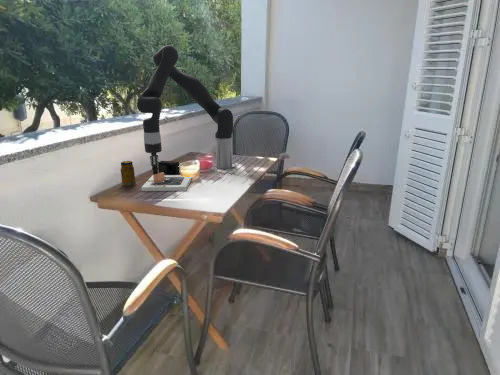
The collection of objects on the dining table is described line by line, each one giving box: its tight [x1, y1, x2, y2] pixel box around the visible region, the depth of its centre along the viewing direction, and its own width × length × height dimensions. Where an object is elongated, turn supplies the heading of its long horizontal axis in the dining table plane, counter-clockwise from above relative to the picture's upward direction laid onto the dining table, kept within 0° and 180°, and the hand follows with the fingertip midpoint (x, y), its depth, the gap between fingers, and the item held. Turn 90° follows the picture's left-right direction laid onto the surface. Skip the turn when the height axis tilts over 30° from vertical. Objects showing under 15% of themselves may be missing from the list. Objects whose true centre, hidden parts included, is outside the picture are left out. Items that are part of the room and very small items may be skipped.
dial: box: [152, 172, 181, 185], centre depth 168 cm, size 12×11×6 cm
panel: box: [141, 174, 192, 192], centre depth 169 cm, size 20×20×3 cm
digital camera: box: [158, 160, 180, 175], centre depth 188 cm, size 10×5×7 cm, turn 74°
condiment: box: [120, 160, 136, 188], centre depth 167 cm, size 7×8×12 cm
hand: (155, 177), depth 168 cm, fingers closed
